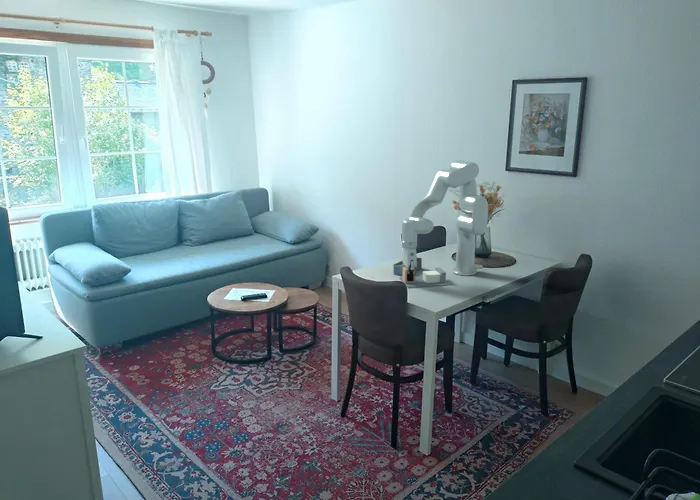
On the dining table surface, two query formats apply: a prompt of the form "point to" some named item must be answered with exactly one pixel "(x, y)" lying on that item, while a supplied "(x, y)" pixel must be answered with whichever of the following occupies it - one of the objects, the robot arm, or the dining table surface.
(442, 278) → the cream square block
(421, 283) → the mat
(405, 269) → the tan rectangular block
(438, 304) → the dining table surface
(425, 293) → the dining table surface
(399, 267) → the beverage carton
